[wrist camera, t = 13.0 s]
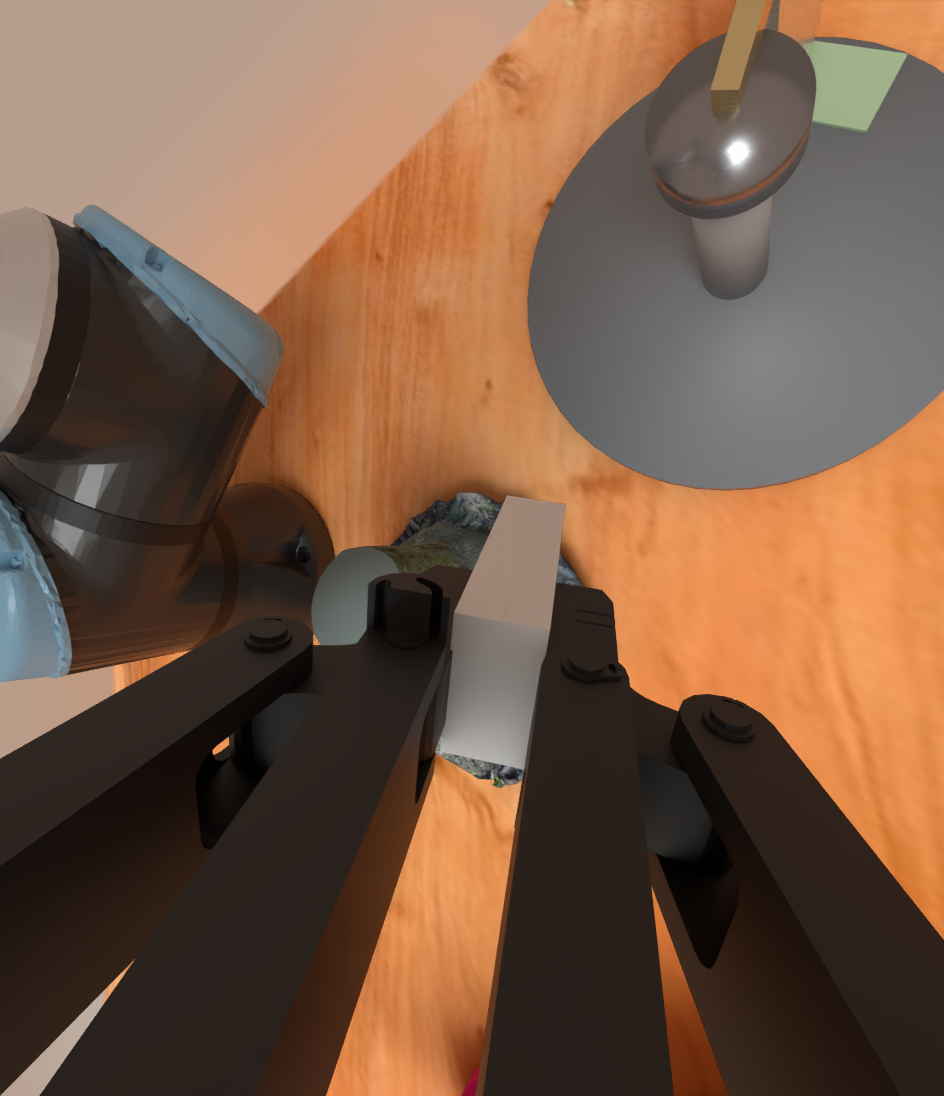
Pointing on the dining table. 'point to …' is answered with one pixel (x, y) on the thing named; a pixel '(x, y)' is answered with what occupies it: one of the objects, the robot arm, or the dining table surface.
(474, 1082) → the pepper mill
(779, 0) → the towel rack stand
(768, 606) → the dining table surface
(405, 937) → the dining table surface
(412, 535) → the tree stump
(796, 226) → the stand
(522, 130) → the dining table surface
